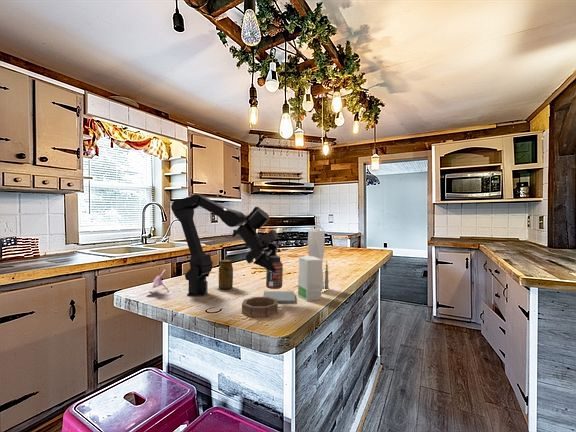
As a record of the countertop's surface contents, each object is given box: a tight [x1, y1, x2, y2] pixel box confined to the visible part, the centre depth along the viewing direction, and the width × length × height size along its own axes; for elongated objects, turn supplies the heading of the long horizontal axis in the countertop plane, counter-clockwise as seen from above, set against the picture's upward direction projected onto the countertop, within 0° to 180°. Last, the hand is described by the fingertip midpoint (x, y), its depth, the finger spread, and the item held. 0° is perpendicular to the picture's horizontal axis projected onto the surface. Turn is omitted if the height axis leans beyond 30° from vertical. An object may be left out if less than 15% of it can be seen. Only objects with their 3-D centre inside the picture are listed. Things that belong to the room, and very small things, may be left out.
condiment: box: [214, 259, 239, 292], centre depth 122 cm, size 7×8×12 cm
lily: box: [146, 268, 170, 296], centre depth 115 cm, size 12×12×10 cm
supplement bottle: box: [265, 255, 284, 290], centre depth 102 cm, size 6×6×11 cm
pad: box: [262, 290, 296, 304], centre depth 108 cm, size 12×12×1 cm
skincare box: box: [297, 255, 323, 302], centre depth 109 cm, size 8×7×16 cm
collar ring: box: [241, 296, 279, 318], centre depth 94 cm, size 12×12×3 cm
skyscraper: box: [307, 225, 330, 291], centre depth 120 cm, size 8×8×28 cm
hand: (278, 269), depth 102 cm, fingers closed on supplement bottle, 6 cm apart
